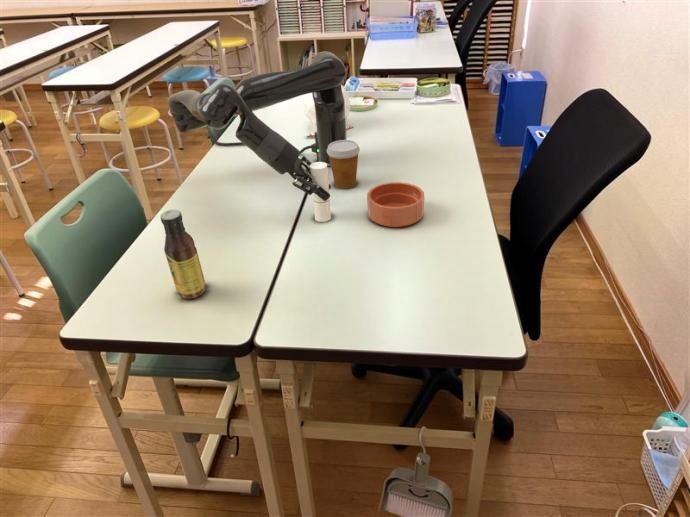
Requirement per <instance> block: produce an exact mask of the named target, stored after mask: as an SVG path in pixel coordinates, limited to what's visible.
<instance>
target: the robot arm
mask: <svg viewBox="0 0 690 517" xmlns="http://www.w3.org/2000/svg"><path fill="white" fill-rule="evenodd" d="M346 75H347V70H346V67H345V64H344V62H342V60H341V59H340V58H339V57H338V56H337V55H336V54H334V53H333V52H331V51H327V50H326V51H325V50H324V51H319V52H318V53H316V54H315V55H314V56H313V57H312V58H311V62H310V64H309V65H306V66H303V67H300V68H298V69H297V68H296V69H292V70H278V71H267V72H261V73H258V74H255V75H251V76H249V77H245V78H243V79H241V80H240V81H239V82H238V83H237V84H236V85H235V87H233V86H232V85H230V84H228V83H219V84H217V85H216V86H215V87H214V88H213V90H212V91H211V92H206V93H203V92H201V91H197V90H195V89H185V90H181V91H178V92H174V93H173V94H171V95H170V96H169V97H168V98H167V107H168V110H169V112H170V114H171V117H172V119H173V122H174V124H175V127H176V129H177V131H178V132H179V133H182V134H186V133H187V134H188V133H191V132H194V131H197V130H200V129H201V130H202V129H203V128H206V127H210V128H211V129H213V130H218V131H219V130H223V129H224V128H225V127H227V126H228V124H229V123H230V121H231V120H232V119H233V117H236V116H237V117H238V116H239V124H238V126H237V128H236V130H235V138H236V139H237V140H238V141H239V142H219V141H217V140H216V139H215V137H214V136H213V135H212V134H209V135H208V136H207V137H206V138H207V140H211V142H212V143H214V144H215V145H217V146H223V147H230V146H231V147H232V146H245V147H247V148H248V149H249V150H251V151H252V152H253V153H254V154H255V155H256V156H257V157H258V158H259V159H260V160H261V161H262V162H264V163H265V164H267V165H268V166H269V167H270V168H271V169H273V170H274V171H276V173H278V174H279V175H285V174H287V173H288V175H290V177H291V178H292V179H293V182H292V185H293V186H294V187H295V188H296V189H298V190H301V191H302V192H304V193H305V194H307V195H309V196H313V193H315V194H316V195H317V196H319V197H320V198H321V199H322V200H324V201H326V200H327V199H328V198H329V197H330V198H331V194H330V192H329V193H328V192H327V191H326V190H324V189H323V188H322V187H321V186H319V185H318V184H317V183H316V182H315V181H314V177H313V176H312V175H311V172H310V165H311V164H312V163H313V162H311V161H310V160H309V159H308V158H307V157H306V156H305V155H302V157H301V158H300V155H301V154H303V153H304V152H306V151H307V150H310V149H311V153H314V154H316V162H324V163H326V164H327V167H331V164H330V159H329V155H328V153H327V149H328V145H329V144H330V143H332V142H335V141H339V140H348V139H347V130H346V129H347V122H346V121H347V120H346V119H345V101H344V97H343V93H342V88H341V84H342V83H343V82H344V81H345V79H346ZM309 93H312V96H313V100H314V105H315V116H316V126H315V128H316V131H315V132H314V135H315V137H314V143H312V144H311V145H307V146H304V147H303V148H301V149H300V150H299V149H298V148H297V147H295V146H294V145H293V144H292V143H290V142H289V141H288V140H287V139H286V138H284V136H282V135H281V134H280V133H278V132H277V131H275V130H274V129H273V128H271V127H270V126H268V124H266V123H265V122H264V121H262V120H261V119H260V118H259V117H258V116H257V115H256V114H255V113H254V112H255V111H259V110H262V109H266V108H269V107H272V106H274V105H277V104H280V103H284V102H286V101H289V100H293V99H295V98H297V97H301V96H304V95H306V94H309ZM328 184H329V191H330V190H331V189H332V185H331V184H330V183H329V182H328Z"/></svg>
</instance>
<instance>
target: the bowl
mask: <svg viewBox="0 0 690 517" xmlns="http://www.w3.org/2000/svg"><path fill="white" fill-rule="evenodd" d="M366 204H367V209H366V210H367V217H368V218H369V219H370V220H371V221H372V222H374V223H376V224H378V225H380V226H384V227H389V228H402V227H403V228H404V227H408V226H410V225H413V224H414V223H417V222H418V221H420V220H421V219H422V218H423V216H424V213H425V192H424V190H422V189H421V187H419V186H417V185H415V184H412V183H409V182H401V181H392V182H384V183H381V184H377V185H375V186H374V187H371V188H370V189H369V190H368V192H367V194H366Z"/></svg>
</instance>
